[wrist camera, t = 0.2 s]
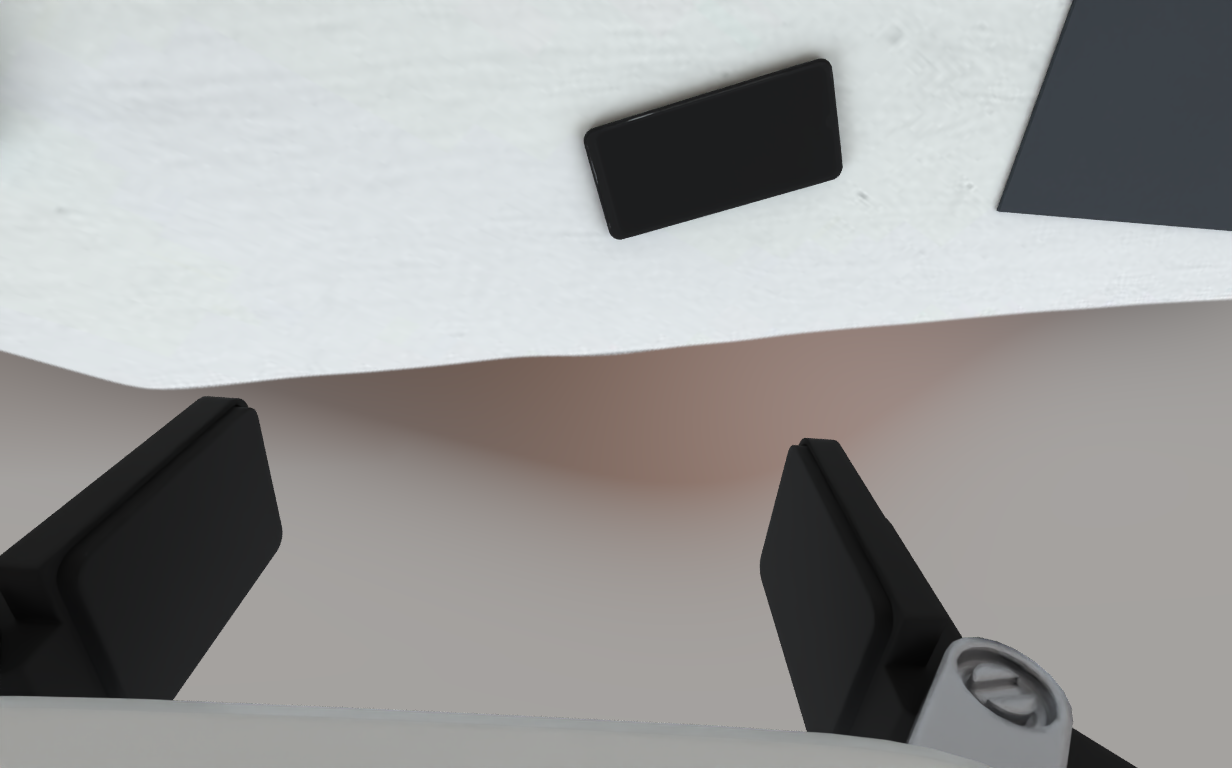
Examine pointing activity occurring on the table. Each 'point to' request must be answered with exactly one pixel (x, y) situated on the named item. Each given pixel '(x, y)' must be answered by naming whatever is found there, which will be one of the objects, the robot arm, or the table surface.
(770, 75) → the smartphone
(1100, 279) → the table surface
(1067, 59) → the mat
